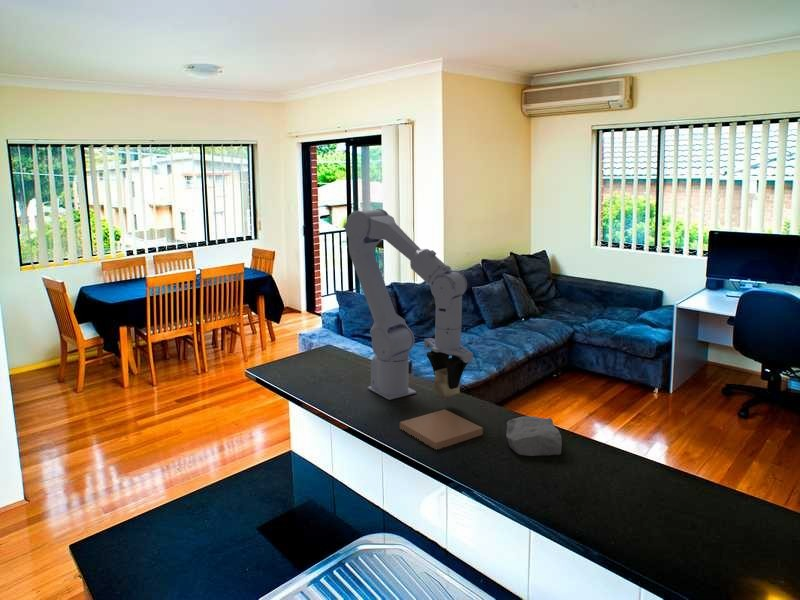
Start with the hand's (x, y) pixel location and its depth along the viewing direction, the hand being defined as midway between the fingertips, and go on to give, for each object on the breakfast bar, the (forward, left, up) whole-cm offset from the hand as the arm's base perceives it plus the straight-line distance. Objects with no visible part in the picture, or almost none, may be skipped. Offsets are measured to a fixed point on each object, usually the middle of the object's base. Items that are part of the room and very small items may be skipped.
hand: (446, 384), depth 135 cm
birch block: (0, 0, -2) cm, 2 cm away
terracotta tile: (+10, -10, -6) cm, 15 cm away
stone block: (+24, +1, -6) cm, 25 cm away
